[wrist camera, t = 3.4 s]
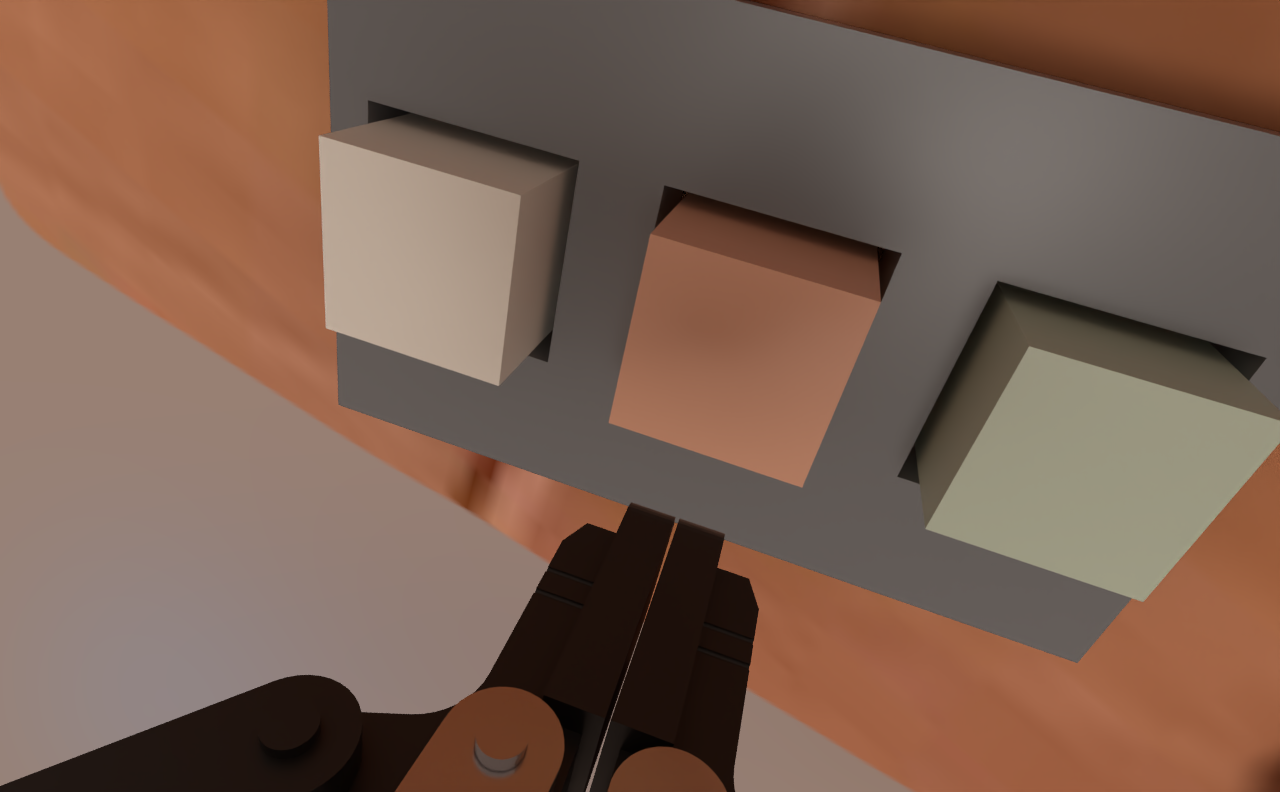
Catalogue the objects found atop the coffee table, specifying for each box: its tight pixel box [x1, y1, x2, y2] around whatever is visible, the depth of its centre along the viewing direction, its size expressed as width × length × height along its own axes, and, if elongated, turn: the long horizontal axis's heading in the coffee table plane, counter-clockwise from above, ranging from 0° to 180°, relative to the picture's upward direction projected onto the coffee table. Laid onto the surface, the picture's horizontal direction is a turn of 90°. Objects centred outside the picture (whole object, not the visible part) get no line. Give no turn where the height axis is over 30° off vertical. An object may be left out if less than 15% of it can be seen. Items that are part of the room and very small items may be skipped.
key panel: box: [327, 0, 1280, 663], centre depth 19 cm, size 14×24×3 cm, turn 78°
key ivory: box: [319, 113, 579, 386], centre depth 19 cm, size 5×5×4 cm
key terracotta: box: [609, 192, 881, 487], centre depth 18 cm, size 5×5×4 cm
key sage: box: [915, 281, 1280, 602], centre depth 17 cm, size 5×5×4 cm
